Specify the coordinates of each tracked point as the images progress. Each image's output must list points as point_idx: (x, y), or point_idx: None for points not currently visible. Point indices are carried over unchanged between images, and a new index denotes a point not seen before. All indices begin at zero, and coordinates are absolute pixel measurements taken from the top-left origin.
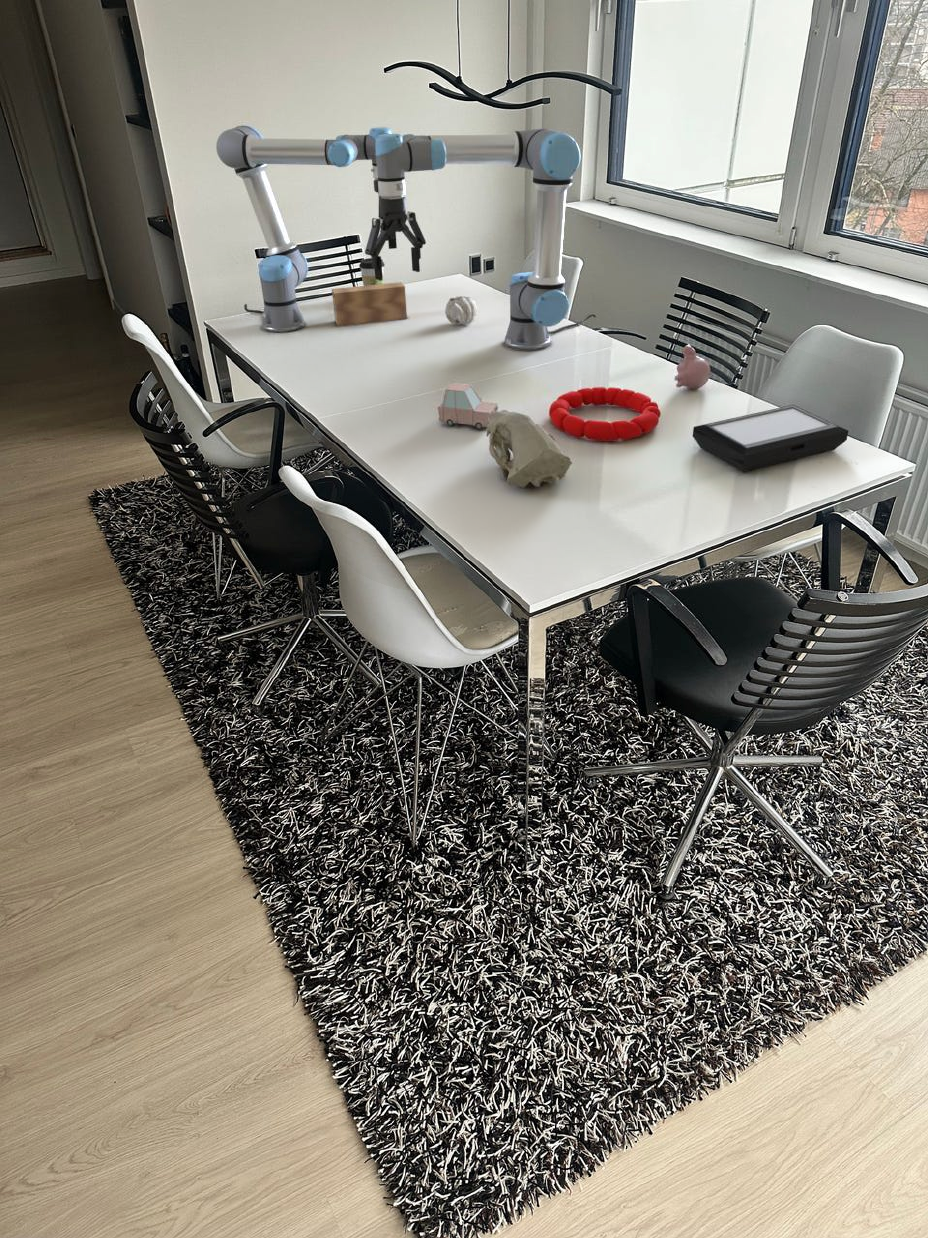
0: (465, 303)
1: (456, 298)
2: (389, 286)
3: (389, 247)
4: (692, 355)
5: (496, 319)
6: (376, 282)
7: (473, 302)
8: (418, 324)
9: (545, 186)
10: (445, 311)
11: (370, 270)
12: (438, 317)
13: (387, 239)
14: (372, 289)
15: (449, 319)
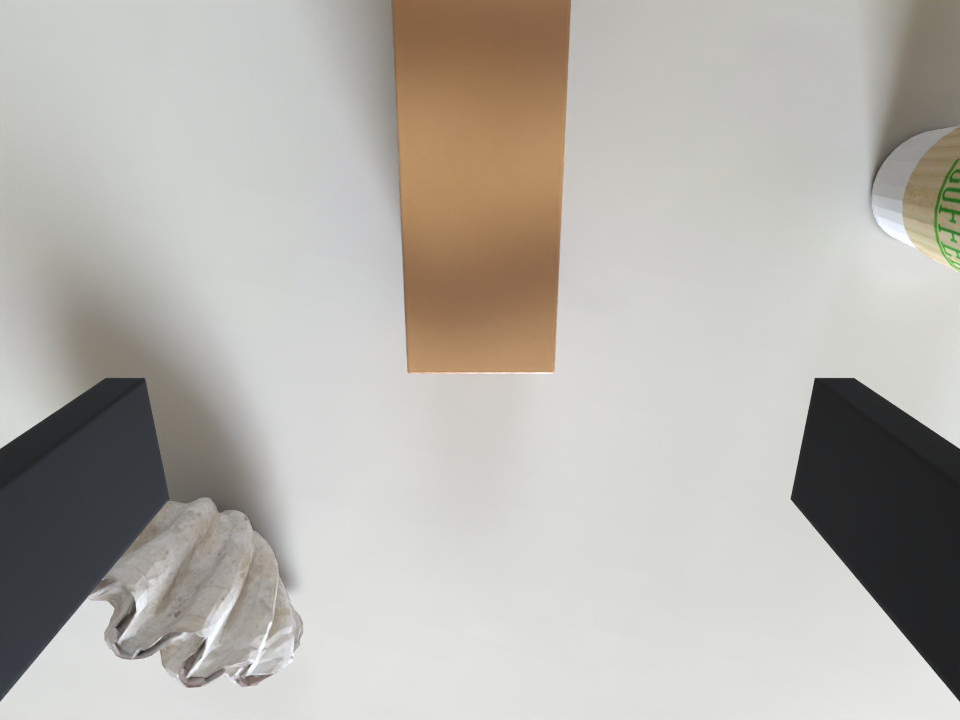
0: (105, 637)
1: (132, 619)
2: (446, 250)
3: (95, 392)
4: None
5: (275, 686)
6: (947, 215)
7: (226, 675)
8: (290, 340)
9: None
10: (186, 511)
11: None
12: (393, 467)
13: (803, 482)
14: (395, 70)
15: (171, 501)
